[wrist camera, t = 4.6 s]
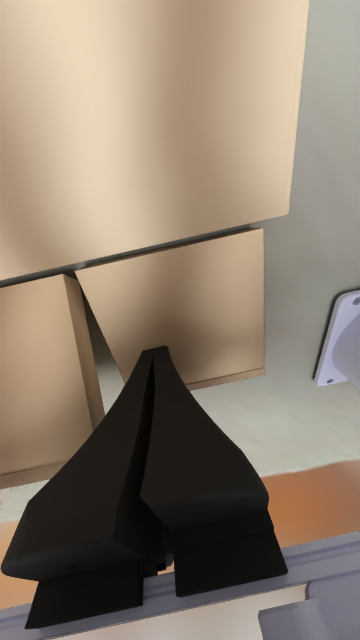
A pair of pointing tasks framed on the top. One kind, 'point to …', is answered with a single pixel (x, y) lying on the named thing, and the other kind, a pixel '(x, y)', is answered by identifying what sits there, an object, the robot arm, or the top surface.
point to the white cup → (3, 495)
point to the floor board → (142, 122)
